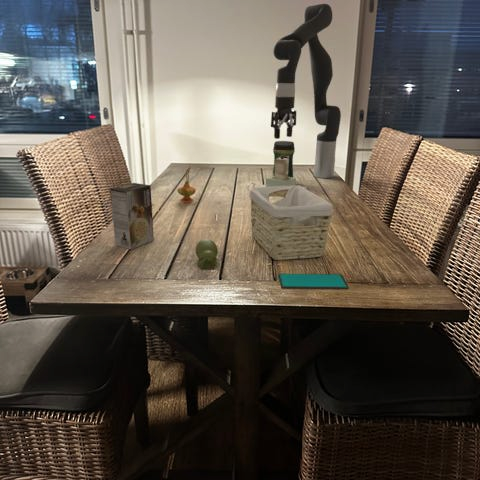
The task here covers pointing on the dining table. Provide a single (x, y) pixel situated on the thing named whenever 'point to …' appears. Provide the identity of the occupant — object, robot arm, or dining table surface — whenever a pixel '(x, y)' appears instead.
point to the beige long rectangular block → (281, 168)
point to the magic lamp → (186, 190)
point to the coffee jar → (286, 150)
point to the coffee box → (132, 215)
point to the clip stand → (280, 182)
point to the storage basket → (290, 222)
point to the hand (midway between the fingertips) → (283, 137)
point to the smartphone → (312, 281)
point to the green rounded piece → (207, 254)
